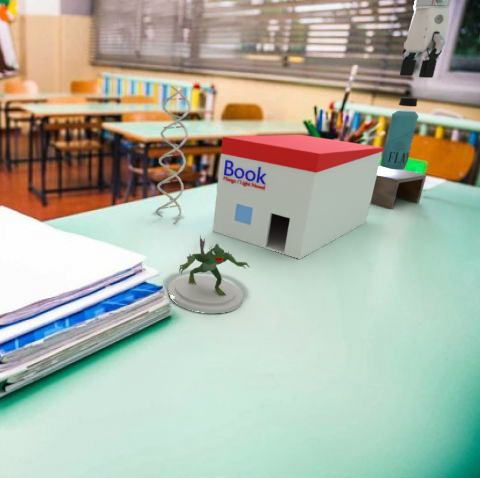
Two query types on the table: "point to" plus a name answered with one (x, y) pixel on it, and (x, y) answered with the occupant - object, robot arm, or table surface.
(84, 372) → the table surface
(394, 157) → the beverage bottle
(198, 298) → the monster figurine
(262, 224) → the bookstore
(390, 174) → the shelf
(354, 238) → the table surface
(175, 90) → the dna model
